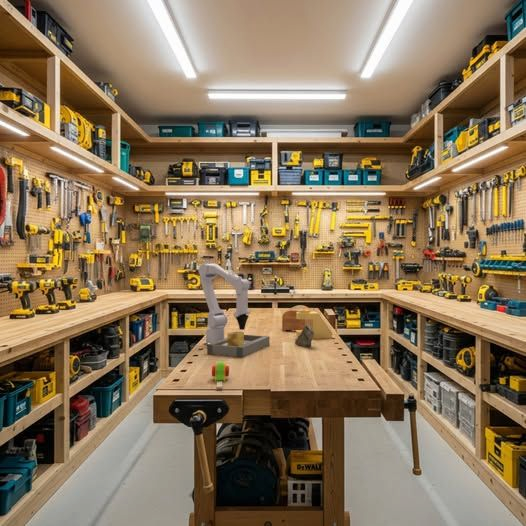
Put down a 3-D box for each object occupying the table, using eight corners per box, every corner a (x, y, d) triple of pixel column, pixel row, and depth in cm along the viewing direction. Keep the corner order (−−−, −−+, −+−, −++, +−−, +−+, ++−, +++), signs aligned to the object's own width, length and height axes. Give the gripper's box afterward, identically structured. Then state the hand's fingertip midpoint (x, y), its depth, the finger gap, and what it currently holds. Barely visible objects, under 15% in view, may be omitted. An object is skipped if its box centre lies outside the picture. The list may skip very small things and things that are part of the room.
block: (227, 345, 195) (227, 333, 195) (233, 343, 201) (233, 331, 201) (238, 346, 193) (238, 334, 193) (243, 344, 198) (243, 332, 198)
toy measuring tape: (229, 374, 155) (229, 357, 155) (228, 390, 136) (228, 371, 136) (212, 375, 155) (212, 358, 155) (209, 390, 136) (209, 371, 136)
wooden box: (288, 324, 285) (288, 304, 285) (311, 325, 281) (311, 305, 281) (279, 331, 256) (279, 309, 256) (305, 332, 252) (305, 310, 252)
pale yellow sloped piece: (297, 338, 229) (297, 310, 229) (295, 335, 238) (295, 309, 239) (331, 338, 230) (331, 310, 231) (328, 335, 240) (328, 308, 240)
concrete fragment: (298, 341, 220) (298, 321, 220) (319, 348, 203) (320, 326, 203) (289, 342, 217) (289, 322, 217) (310, 349, 200) (310, 327, 200)
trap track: (207, 353, 191) (207, 344, 191) (237, 342, 219) (237, 334, 219) (242, 357, 183) (242, 347, 183) (269, 345, 211) (269, 336, 211)
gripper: (242, 304, 195) (242, 332, 195) (255, 301, 208) (255, 327, 208) (229, 303, 198) (229, 331, 198) (243, 301, 211) (243, 326, 211)
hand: (242, 329), depth 203 cm, fingers closed
